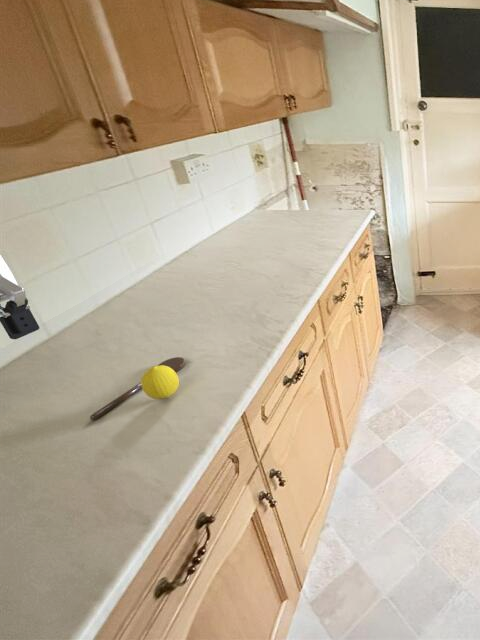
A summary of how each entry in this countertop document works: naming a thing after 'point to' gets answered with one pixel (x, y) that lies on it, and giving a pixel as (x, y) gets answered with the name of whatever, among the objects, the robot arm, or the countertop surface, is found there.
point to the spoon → (138, 387)
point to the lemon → (159, 382)
